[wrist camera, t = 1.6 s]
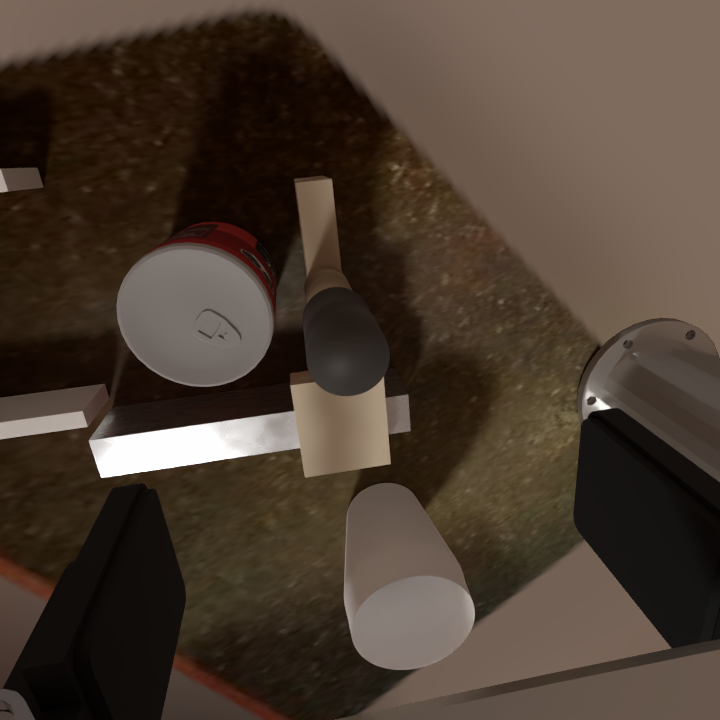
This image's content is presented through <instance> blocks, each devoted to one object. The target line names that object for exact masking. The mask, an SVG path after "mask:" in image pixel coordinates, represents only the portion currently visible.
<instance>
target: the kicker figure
mask: <svg viewBox="0 0 720 720" xmlns="http://www.w3.org/2000/svg"><path fill="white" fill-rule="evenodd" d="M294 185H295V192H296V200H297V207H298V215H299V222H300V230H301V237H302V245H303V252H304V260H305V267H306V275H307V279H306V281H305V286H304V290H305V297H306V304H307V305H306V307H305V309H304V313H303V331H304V340H305V350H306V360H307V367H308V370H309V371H303V372H295V373H290V386H291V393H292V399H293V405H294V412H295V418H296V424H297V430H298V437H299V443H300V449H301V456H302V462H303V468H304V474H305V477H312V476H318V475H324V474H331V473H337V472H344V471H350V470H356V469H363V468H369V467H375V466H382V465H388V464H391V461H390V448H389V436H388V424H387V411H386V399H385V387H384V375H385V373H386V371H387V369H388V366H389V361H390V350H389V345H388V342H387V340H386V338H385V336H384V334H383V333H382V331H381V329H380V327H379V325H378V324H377V322H376V320H375V318H374V316H373V315H372V313H371V311H370V309H369V308H368V306H367V304H366V302H365V301H364V299H363V298H362V297H361V296H360V295H359V294H357V293H356V292H354V291H352V289H351V287H350V285H349V283H348V281H347V279H346V277H345V275H344V274H343V273H342V270H341V260H340V251H339V241H338V232H337V223H336V213H335V204H334V194H333V185H332V179H330V178H328V177H326V176H314V177H304V178H294Z"/></svg>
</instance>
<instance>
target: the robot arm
mask: <svg viewBox="0 0 720 720" xmlns="http://www.w3.org/2000/svg"><path fill="white" fill-rule="evenodd" d="M577 407H578V414H579V418H580V421H581V424H582V425H581V435H580V446H579V458H578V469H577V481H576V492H575V503H574V522H575V525H576V528H577V530H578V531H579V533H580V534H581V535H582V536H583V538H584V539H585V540H586V541H587V543H588V544H589V545H590V546H591V548H592V549H593V550H594V552H595V553H596V554H597V555H598V557H599V558H600V559H601V560H602V561H603V563H604V564H605V565H606V567H607V568H608V569H609V570H610V571H611V573H612V574H613V575H614V577H615V578H616V579H617V580H618V581H619V583H620V584H621V585H622V587H623V588H624V589H625V590H626V592H627V593H628V594H629V595H630V596H631V598H632V599H633V600H634V602H635V603H636V604H637V605H638V607H639V608H640V609H641V610H642V611H643V613H644V614H645V615H646V617H647V618H648V619H649V620H650V622H651V623H652V624H653V625H654V627H655V628H656V629H657V630H658V632H659V633H660V634H661V635H662V637H663V638H664V639H665V640H666V642H667V643H668V644H669V645H670V646H671V648H672V649H668V650H662V651H658V652H653V653H648V654H643V655H638V656H634V657H628V658H624V659H619V660H615V661H609V662H605V663H600V664H595V665H590V666H585V667H580V668H575V669H570V670H565V671H561V672H556V673H551V674H546V675H542V676H537V677H533V678H528V679H523V680H519V681H513V682H509V683H504V684H499V685H495V686H490V687H485V688H481V689H476V690H471V691H467V692H462V693H457V694H452V695H448V696H443V697H438V698H434V699H429V700H424V701H420V702H415V703H410V704H405V705H401V706H396V707H392V708H387V709H383V710H378V711H373V712H369V713H364V714H360V715H355V716H350V717H346V718H341V719H337V720H720V358H719V355H718V352H717V350H716V348H715V345H714V343H713V342H712V340H711V339H710V338H709V337H708V335H707V334H706V333H704V332H703V331H701V330H700V329H699V328H698V327H695V326H693V325H691V324H688V323H686V322H683V321H680V320H676V319H669V318H659V319H651V320H646V321H643V322H640V323H637V324H634V325H632V326H630V327H628V328H626V329H624V330H622V331H621V332H619V333H618V334H616V335H615V336H614V337H612V338H611V339H610V340H608V341H607V342H606V343H605V344H604V345H603V346H602V347H601V348H600V349H599V350H598V352H597V353H596V354H595V356H594V357H593V358H592V360H591V361H590V362H589V364H588V366H587V368H586V370H585V372H584V374H583V376H582V379H581V382H580V385H579V389H578V397H577ZM185 602H186V591H185V585H184V582H183V578H182V575H181V571H180V568H179V565H178V561H177V558H176V555H175V551H174V548H173V545H172V541H171V538H170V535H169V531H168V528H167V525H166V521H165V518H164V514H163V511H162V508H161V504H160V501H159V498H158V494H157V492H156V490H155V489H147V487H146V486H145V484H143V483H140V484H133V485H127V486H121V487H115V488H113V489H112V490H111V492H110V494H109V496H108V498H107V500H106V502H105V504H104V506H103V508H102V510H101V512H100V514H99V516H98V517H97V519H96V521H95V523H94V525H93V527H92V529H91V531H90V533H89V535H88V537H87V539H86V541H85V543H84V545H83V547H82V549H81V551H80V553H79V555H78V557H77V559H76V560H75V561H73V562H71V563H70V564H69V565H68V566H67V567H66V569H65V570H64V572H63V574H62V576H61V578H60V580H59V582H58V584H57V586H56V587H55V589H54V591H53V593H52V595H51V597H50V599H49V601H48V603H47V605H46V607H45V609H44V611H43V613H42V614H41V616H40V618H39V620H38V622H37V624H36V626H35V628H34V630H33V632H32V634H31V635H30V637H29V639H28V641H27V643H26V645H25V647H24V649H23V651H22V653H21V655H20V656H19V659H18V660H17V662H16V664H15V666H14V668H13V670H12V672H11V674H10V676H9V678H8V679H7V681H6V683H5V685H4V687H3V689H1V690H0V720H161V716H162V711H163V707H164V702H165V697H166V693H167V688H168V683H169V679H170V674H171V669H172V664H173V660H174V655H175V650H176V646H177V641H178V636H179V631H180V627H181V622H182V617H183V613H184V608H185Z"/></svg>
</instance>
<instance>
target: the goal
mask: <svg viewBox="0 0 720 720" xmlns="http://www.w3.org/2000/svg"><path fill="white" fill-rule="evenodd" d="M34 188H43V184H42V181H41V178H40V174H39V171H38V168H6V169H0V192H7V191H16V190H25V189H34ZM108 399H109V395H108V392H107V389H106V386H105V384H99V385H91V386H84V387H76V388H69V389H62V390H54V391H47V392H39V393H32V394H25V395H17V396H10V397H2V398H0V439H5V438H12V437H20V436H27V435H34V434H41V433H48V432H55V431H62V430H69V429H76V428H83V427H88V426H89V425H90V423H91V422H92V421H93V419H94V418H95V416H96V415H97V414H98V412H99V411H100V410H101V408H102V407H103V406H104V404H105V403H106V402H107V400H108Z"/></svg>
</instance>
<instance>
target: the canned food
mask: <svg viewBox="0 0 720 720" xmlns="http://www.w3.org/2000/svg"><path fill="white" fill-rule="evenodd" d="M276 291H277V276H276V270H275V266H274V264H273V261H272V258H271V257H270V255H269V253H268V252H267V250H266V248H265V247H264V246H263V245H262V244H261V243H260V242H259V241H258V239H256V238H255V237H254V236H252V235H251V234H250V233H249V232H247V231H245V230H243V229H241V228H239V227H237V226H234V225H231V224H228V223H223V222H202V223H198V224H195V225H191V226H189V227H188V228H186V229H184V230H182V231H180V232H179V233H177V234H176V235H174V236H173V237H171V238H169V239H168V240H166V241H165V242H163V243H162V244H160V245H159V246H157V247H155V248H154V249H152V250H151V251H149V252H148V253H147V254H146V255H144V256H143V257H142V258H141V259H140V260H139V261H137V262H136V263H135V264H134V265H133V267H132V268H131V269H130V271H129V272H128V274H127V275H126V277H125V278H124V280H123V282H122V285H121V287H120V290H119V293H118V299H117V318H118V323H119V326H120V330H121V333H122V335H123V337H124V339H125V341H126V343H127V345H128V347H129V348H130V349H131V350H132V352H133V353H134V354H135V355H136V357H137V358H138V359H139V360H140V361H141V362H142V363H143V364H145V365H146V366H147V367H148V368H149V369H151V370H152V371H154V372H155V373H157V374H159V375H160V376H162V377H164V378H166V379H169V380H171V381H174V382H176V383H180V384H185V385H189V386H199V387H209V386H219V385H223V384H226V383H230V382H233V381H235V380H237V379H239V378H241V377H243V376H245V375H246V374H247V373H249V372H250V371H251V370H252V369H253V368H255V367H256V366H257V364H258V363H259V362H260V361H261V359H262V358H263V357H264V355H265V353H266V351H267V349H268V347H269V345H270V343H271V339H272V335H273V332H274V325H275V310H276Z"/></svg>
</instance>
